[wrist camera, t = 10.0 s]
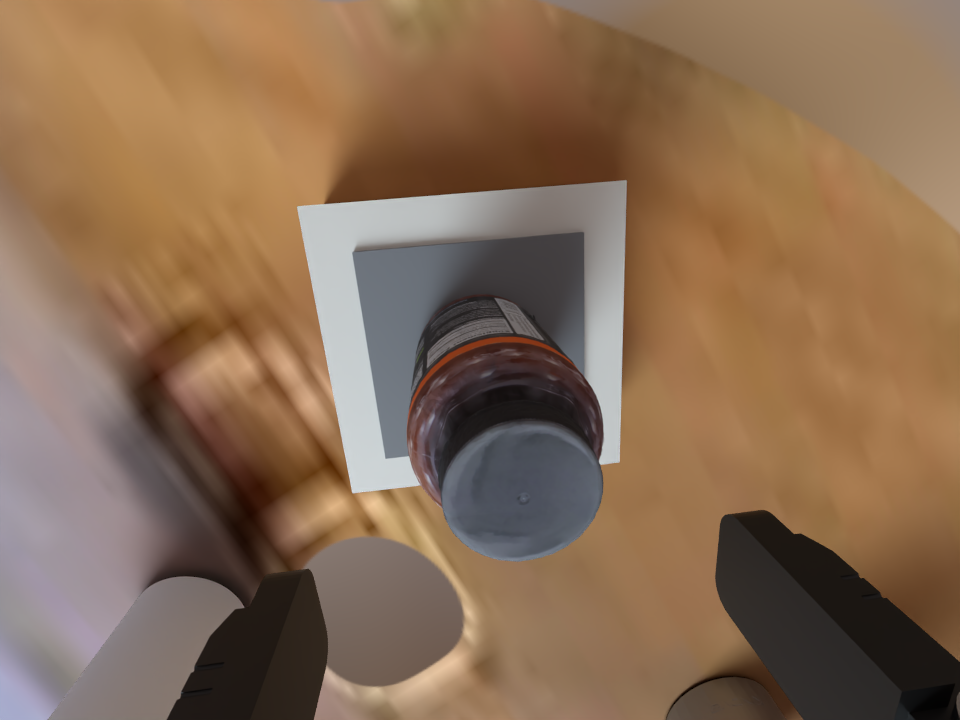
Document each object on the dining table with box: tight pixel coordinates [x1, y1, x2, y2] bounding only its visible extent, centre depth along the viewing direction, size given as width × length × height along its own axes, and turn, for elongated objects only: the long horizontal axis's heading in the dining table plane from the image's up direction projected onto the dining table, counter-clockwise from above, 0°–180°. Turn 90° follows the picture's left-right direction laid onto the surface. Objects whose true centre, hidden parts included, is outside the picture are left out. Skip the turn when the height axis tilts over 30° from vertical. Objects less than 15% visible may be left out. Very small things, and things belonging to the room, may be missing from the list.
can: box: [48, 576, 244, 720], centre depth 26 cm, size 7×7×12 cm
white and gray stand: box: [297, 180, 627, 493], centre depth 24 cm, size 14×14×5 cm
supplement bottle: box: [407, 294, 604, 561], centre depth 17 cm, size 6×6×11 cm
